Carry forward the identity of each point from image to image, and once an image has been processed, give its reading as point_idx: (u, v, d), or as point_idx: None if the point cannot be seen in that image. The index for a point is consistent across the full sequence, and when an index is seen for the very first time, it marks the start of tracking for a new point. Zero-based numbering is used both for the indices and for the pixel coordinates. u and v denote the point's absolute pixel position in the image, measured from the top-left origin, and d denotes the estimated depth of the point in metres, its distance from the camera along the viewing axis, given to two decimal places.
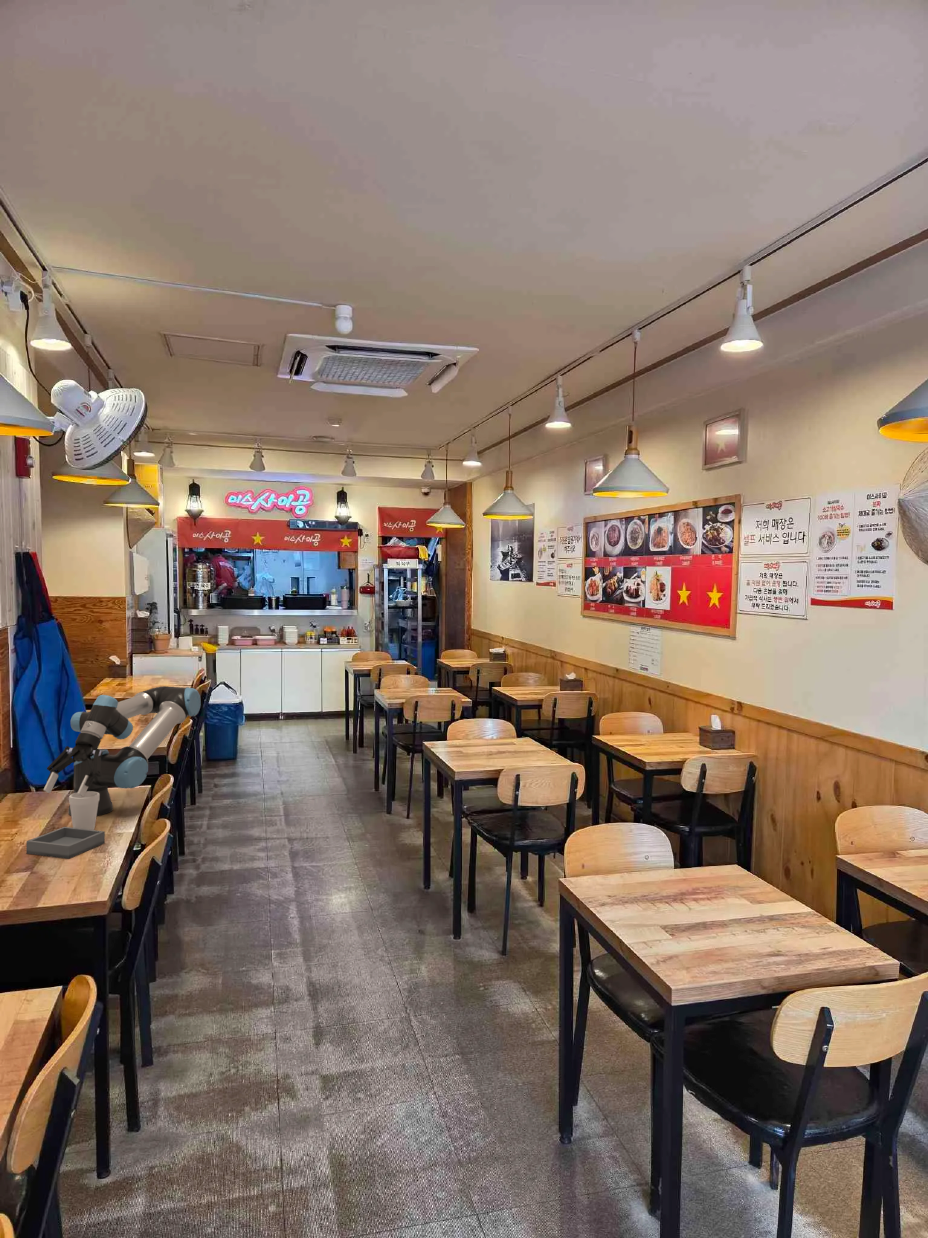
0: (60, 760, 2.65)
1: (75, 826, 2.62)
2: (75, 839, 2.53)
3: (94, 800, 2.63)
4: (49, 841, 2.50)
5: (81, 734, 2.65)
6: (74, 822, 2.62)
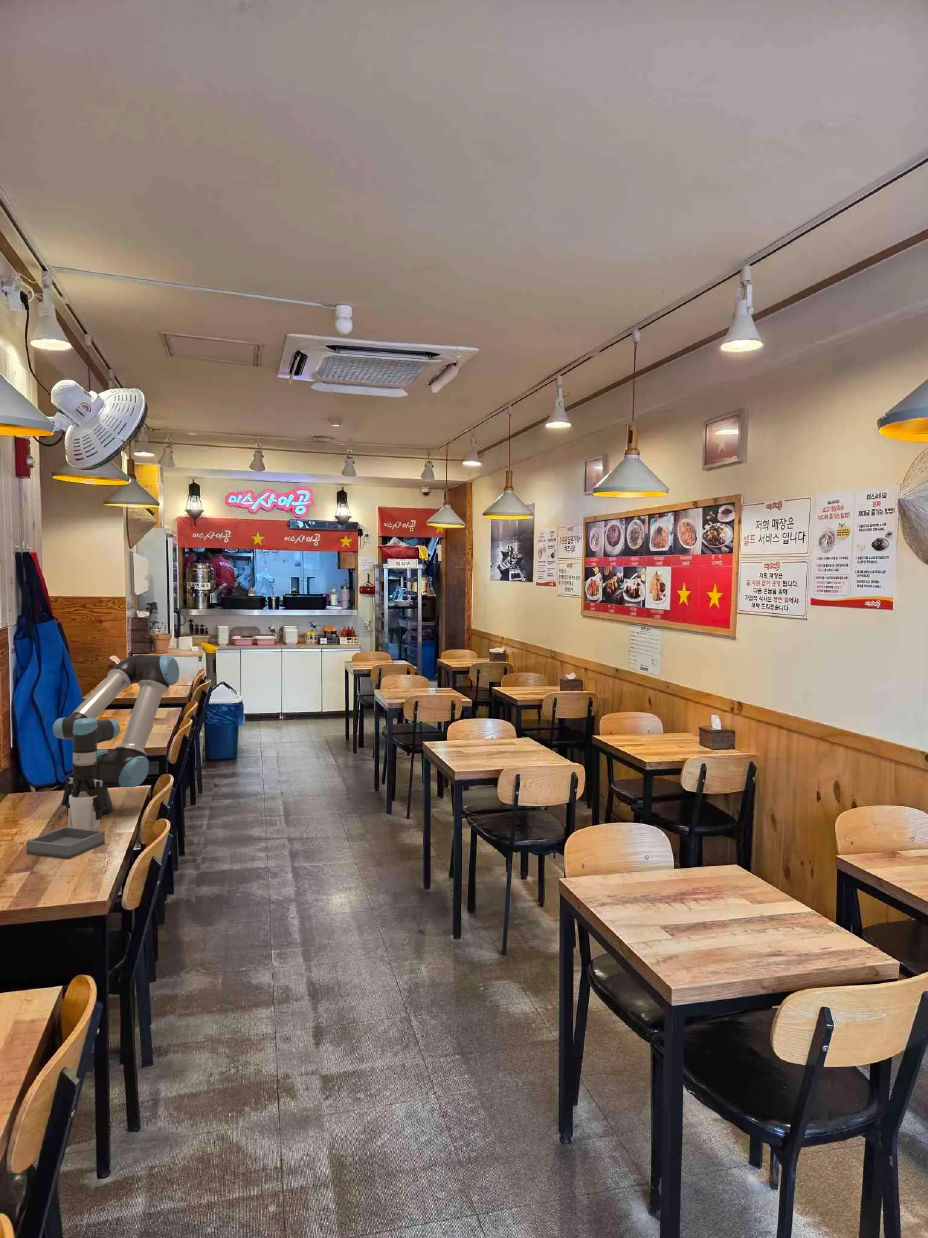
0: (68, 792, 2.66)
1: (75, 826, 2.62)
2: (75, 839, 2.53)
3: None
4: (49, 841, 2.50)
5: (75, 768, 2.61)
6: (74, 822, 2.62)
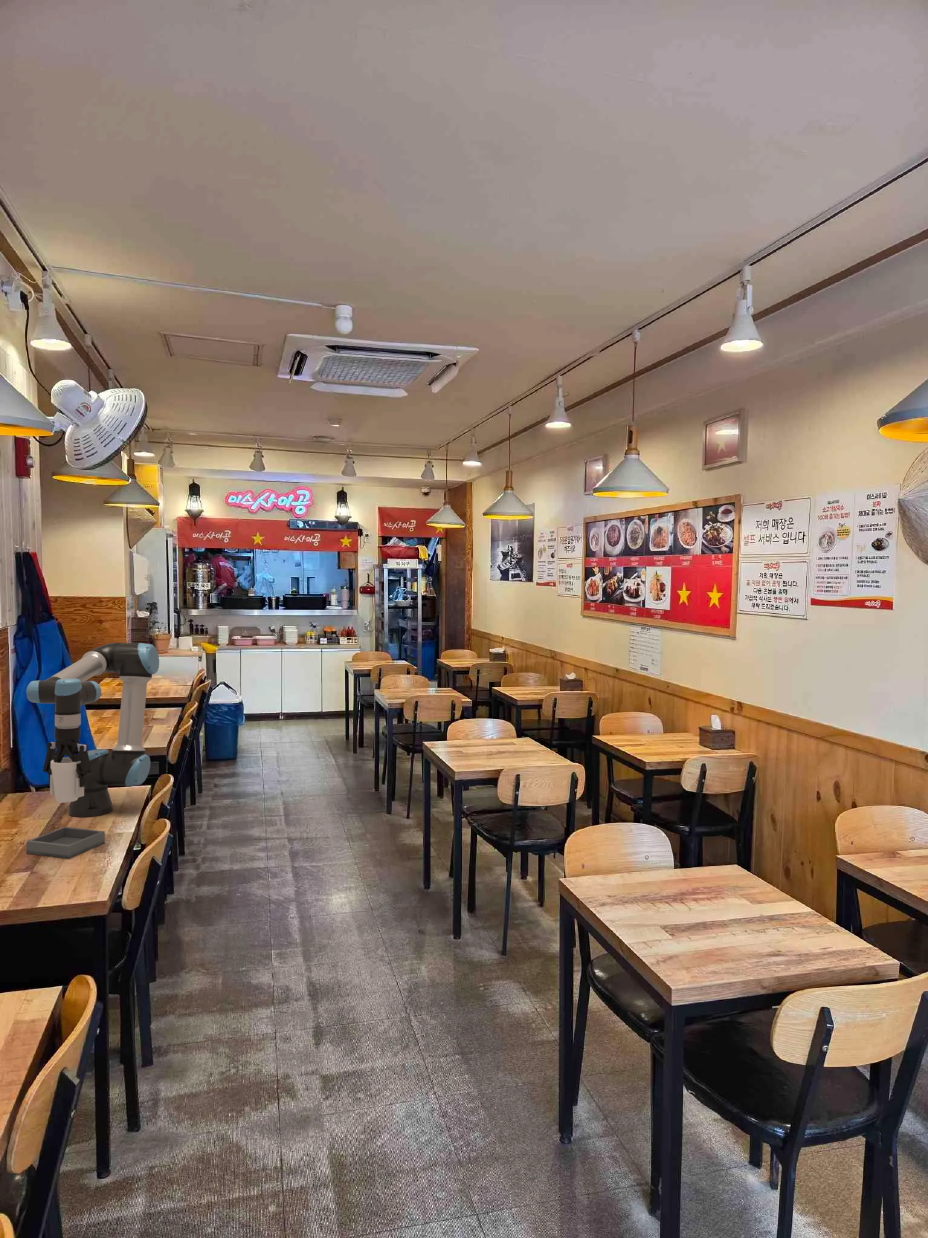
0: (50, 758, 2.48)
1: (57, 793, 2.44)
2: (75, 839, 2.53)
3: None
4: (49, 841, 2.50)
5: (57, 731, 2.43)
6: (56, 789, 2.44)
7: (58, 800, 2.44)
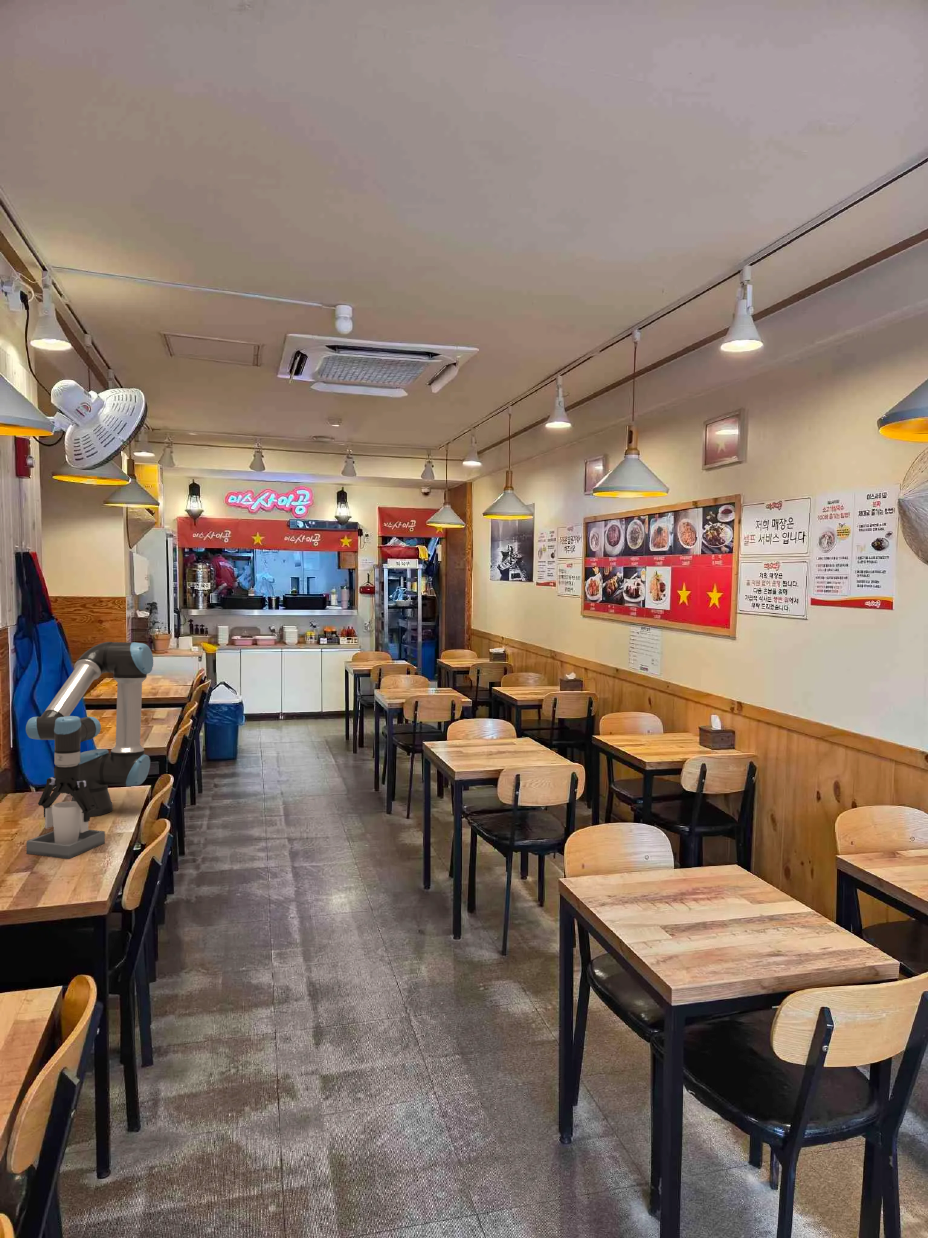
0: (48, 793, 2.49)
1: (57, 838, 2.45)
2: None
3: (79, 810, 2.46)
4: (49, 841, 2.50)
5: (56, 770, 2.44)
6: (56, 834, 2.45)
7: None
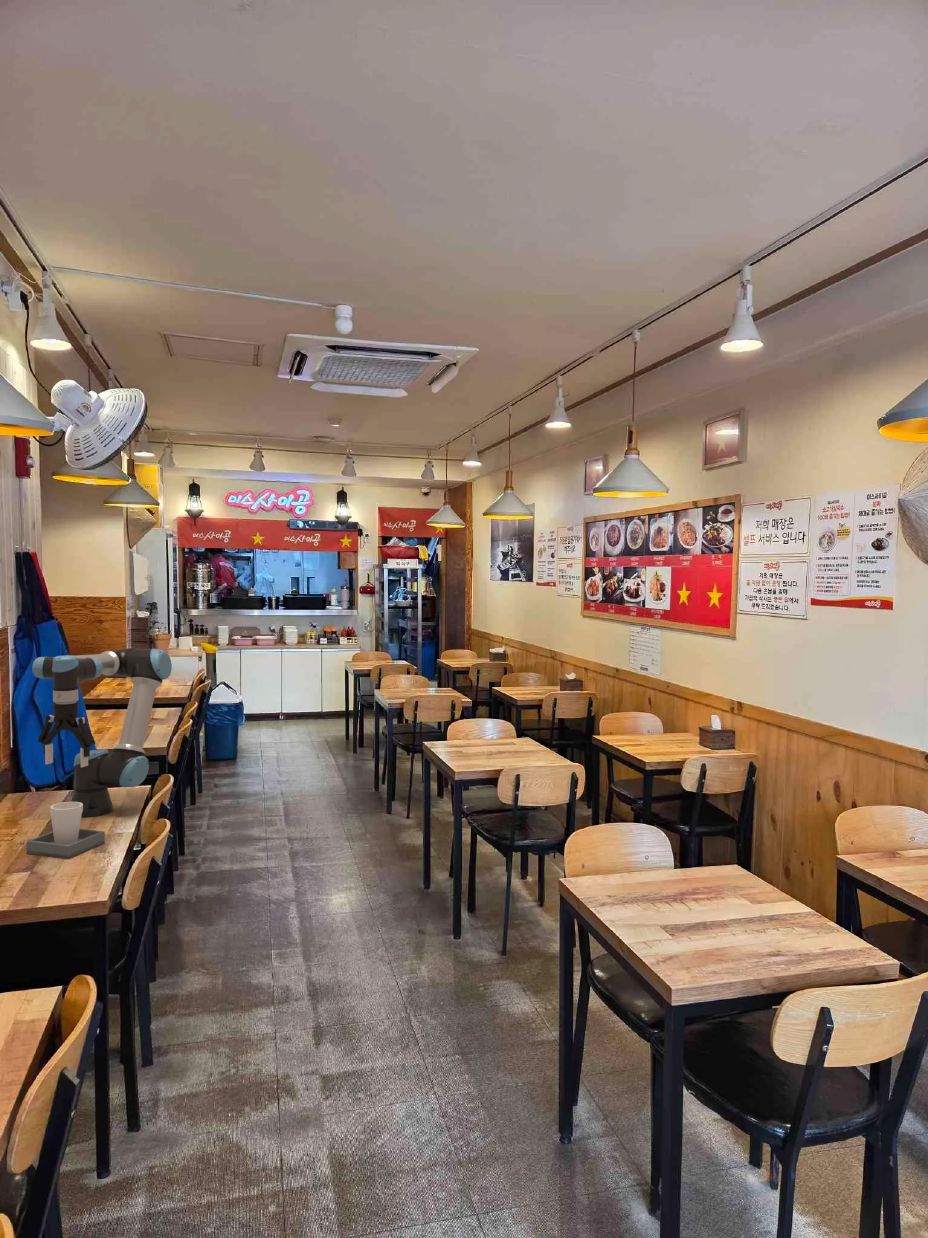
0: (47, 730, 2.55)
1: (56, 839, 2.44)
2: None
3: (77, 811, 2.46)
4: (49, 841, 2.50)
5: (55, 707, 2.50)
6: (55, 835, 2.44)
7: None
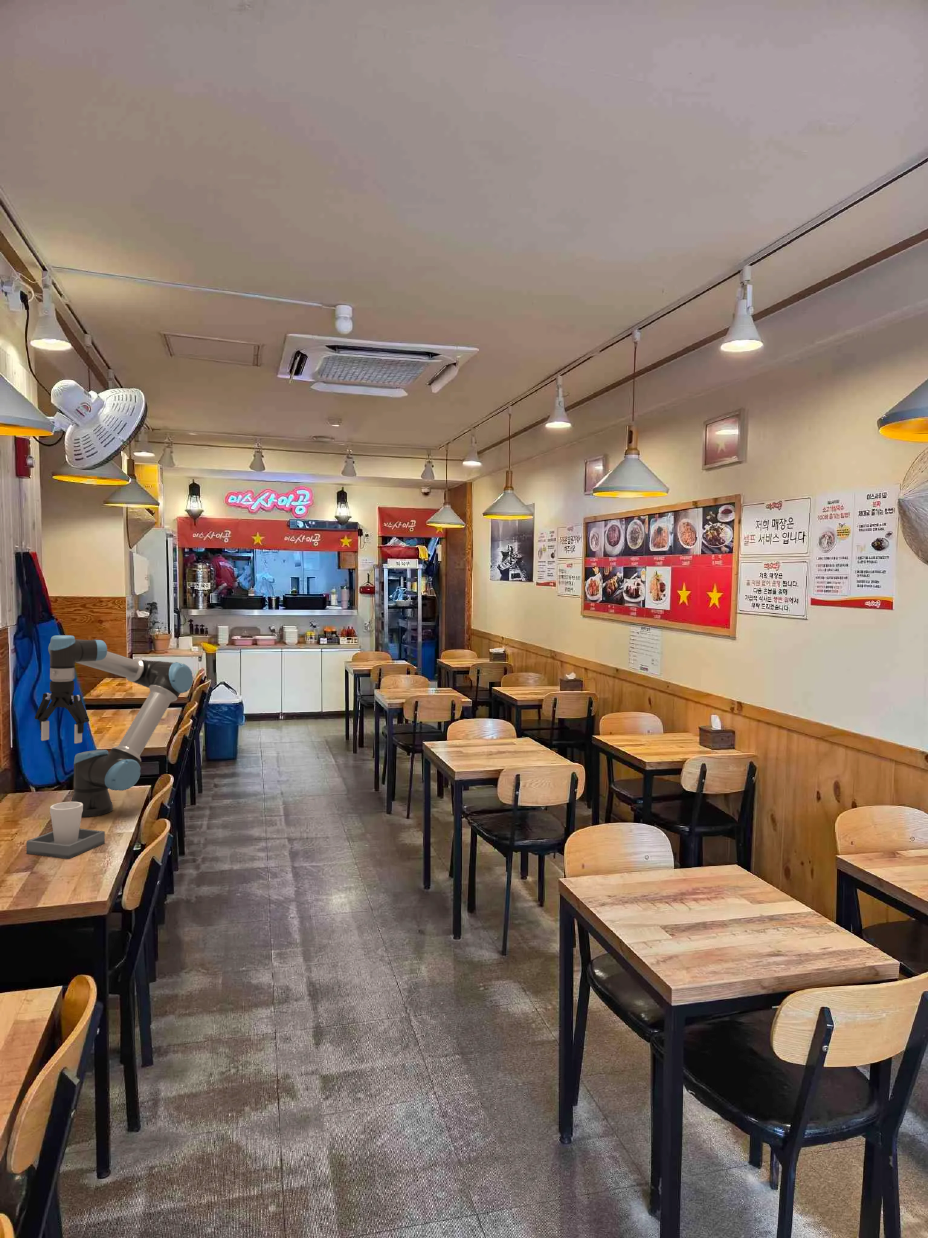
0: (44, 707, 2.64)
1: (56, 839, 2.44)
2: None
3: (77, 811, 2.46)
4: (49, 841, 2.50)
5: (52, 684, 2.59)
6: (55, 835, 2.44)
7: None
